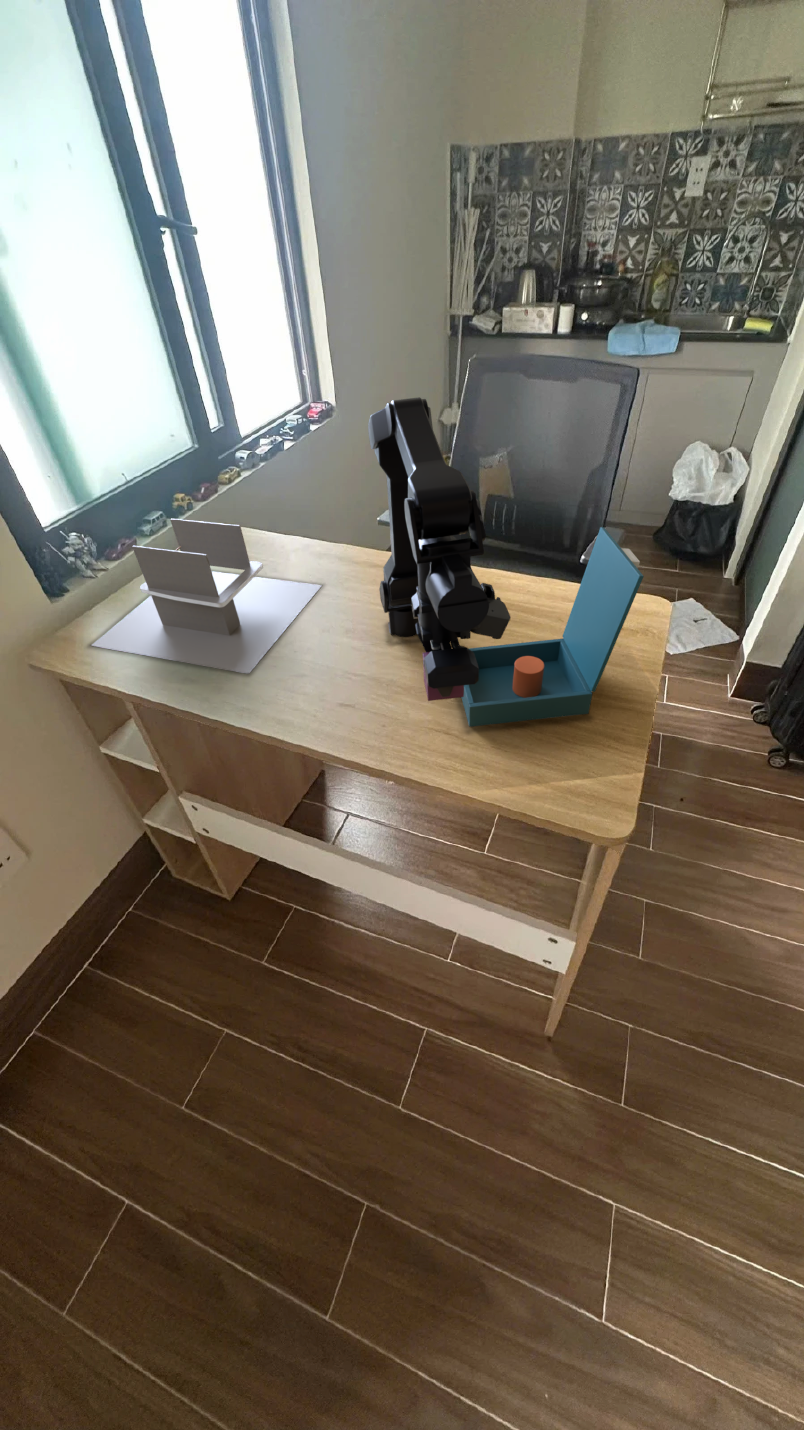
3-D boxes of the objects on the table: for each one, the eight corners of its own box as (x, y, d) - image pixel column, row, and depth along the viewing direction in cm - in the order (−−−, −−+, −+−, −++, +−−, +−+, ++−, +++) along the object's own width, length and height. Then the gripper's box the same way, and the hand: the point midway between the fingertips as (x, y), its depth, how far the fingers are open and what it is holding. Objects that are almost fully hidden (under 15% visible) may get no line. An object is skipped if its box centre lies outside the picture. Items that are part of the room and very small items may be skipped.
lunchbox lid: (639, 575, 76) (658, 577, 76) (600, 526, 87) (617, 528, 87) (591, 691, 89) (607, 692, 89) (562, 636, 99) (576, 637, 100)
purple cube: (428, 701, 82) (427, 672, 79) (423, 680, 86) (422, 652, 82) (463, 697, 82) (464, 668, 79) (458, 676, 86) (458, 648, 82)
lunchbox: (469, 730, 92) (469, 707, 88) (453, 672, 102) (453, 649, 99) (587, 717, 92) (592, 693, 89) (560, 661, 103) (563, 638, 100)
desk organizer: (248, 673, 105) (224, 589, 94) (90, 645, 115) (51, 566, 104) (322, 585, 127) (309, 508, 116) (183, 567, 137) (159, 495, 125)
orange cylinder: (516, 699, 95) (518, 675, 92) (509, 681, 98) (511, 657, 95) (544, 696, 95) (547, 671, 92) (536, 678, 99) (539, 654, 95)
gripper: (525, 621, 66) (515, 723, 77) (490, 545, 80) (486, 640, 91) (426, 632, 66) (430, 733, 77) (408, 554, 80) (413, 648, 90)
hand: (443, 684), depth 84 cm, fingers closed on purple cube, 4 cm apart
